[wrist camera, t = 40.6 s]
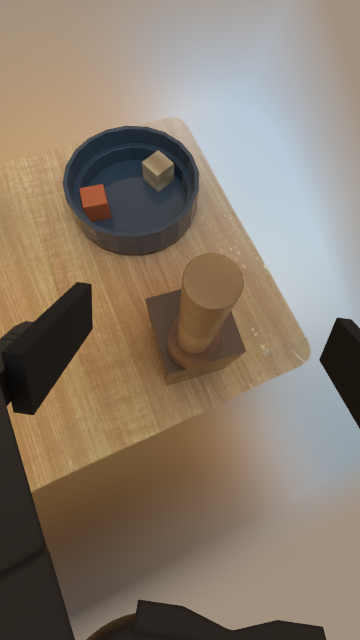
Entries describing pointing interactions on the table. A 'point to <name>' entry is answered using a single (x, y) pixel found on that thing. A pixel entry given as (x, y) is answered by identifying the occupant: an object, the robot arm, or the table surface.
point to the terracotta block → (95, 203)
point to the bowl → (133, 189)
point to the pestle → (203, 309)
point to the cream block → (158, 171)
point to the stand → (161, 318)
